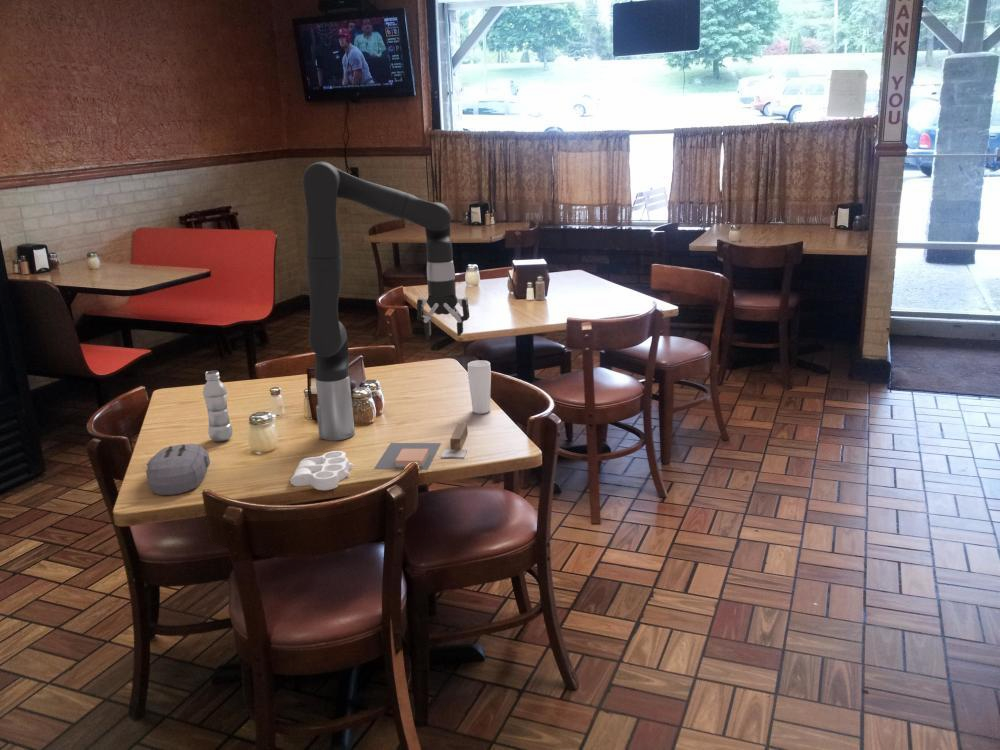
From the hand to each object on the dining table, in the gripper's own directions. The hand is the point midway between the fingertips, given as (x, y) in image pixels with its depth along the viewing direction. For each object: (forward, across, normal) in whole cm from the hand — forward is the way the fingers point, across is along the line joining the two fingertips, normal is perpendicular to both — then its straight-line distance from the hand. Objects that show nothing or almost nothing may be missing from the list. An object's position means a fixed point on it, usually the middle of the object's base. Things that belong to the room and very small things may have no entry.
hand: (444, 335), depth 246 cm
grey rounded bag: (+28, -61, -42) cm, 79 cm away
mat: (+27, -6, -24) cm, 36 cm away
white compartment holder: (+28, -25, -36) cm, 52 cm away
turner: (+27, +6, -16) cm, 32 cm away
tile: (+24, -4, -24) cm, 34 cm away
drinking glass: (+27, +7, +13) cm, 31 cm away
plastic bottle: (+28, -63, -13) cm, 70 cm away
